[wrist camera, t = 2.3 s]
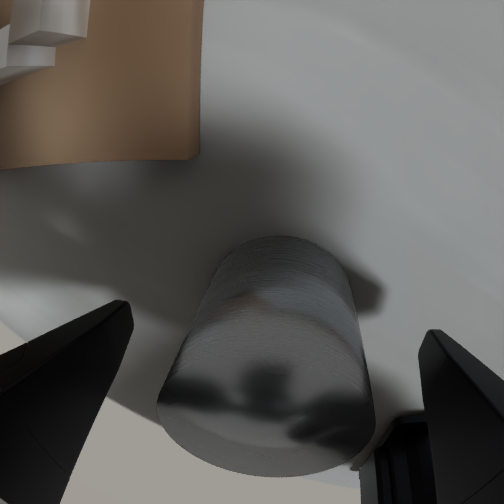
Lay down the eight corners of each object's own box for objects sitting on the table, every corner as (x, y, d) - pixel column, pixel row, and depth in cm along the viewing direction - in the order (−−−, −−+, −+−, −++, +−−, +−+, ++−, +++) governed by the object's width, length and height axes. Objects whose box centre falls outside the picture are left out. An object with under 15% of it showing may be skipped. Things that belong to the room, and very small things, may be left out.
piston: (362, 243, 9) (409, 368, 4) (336, 356, 11) (344, 480, 6) (209, 229, 9) (137, 341, 5) (214, 344, 11) (174, 461, 7)
